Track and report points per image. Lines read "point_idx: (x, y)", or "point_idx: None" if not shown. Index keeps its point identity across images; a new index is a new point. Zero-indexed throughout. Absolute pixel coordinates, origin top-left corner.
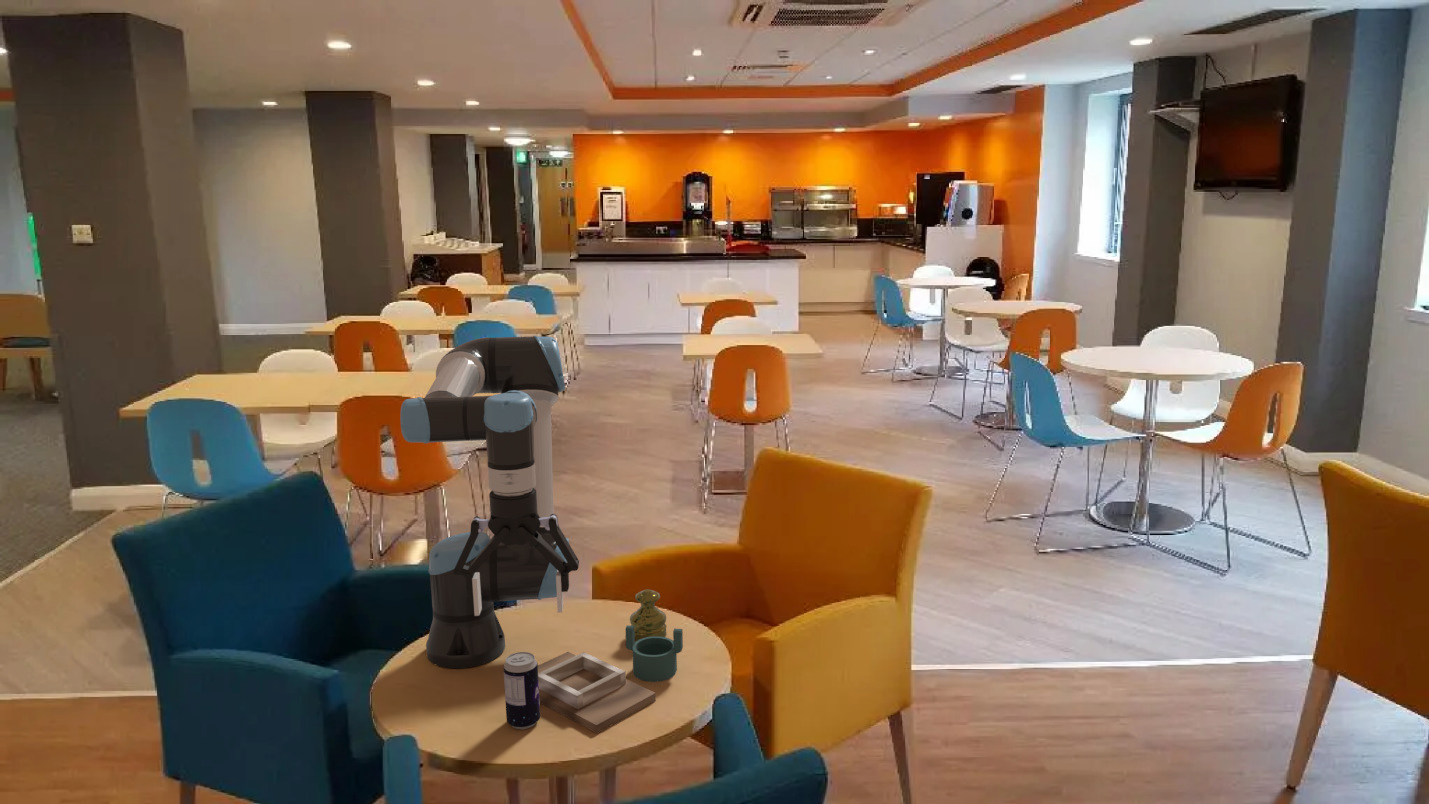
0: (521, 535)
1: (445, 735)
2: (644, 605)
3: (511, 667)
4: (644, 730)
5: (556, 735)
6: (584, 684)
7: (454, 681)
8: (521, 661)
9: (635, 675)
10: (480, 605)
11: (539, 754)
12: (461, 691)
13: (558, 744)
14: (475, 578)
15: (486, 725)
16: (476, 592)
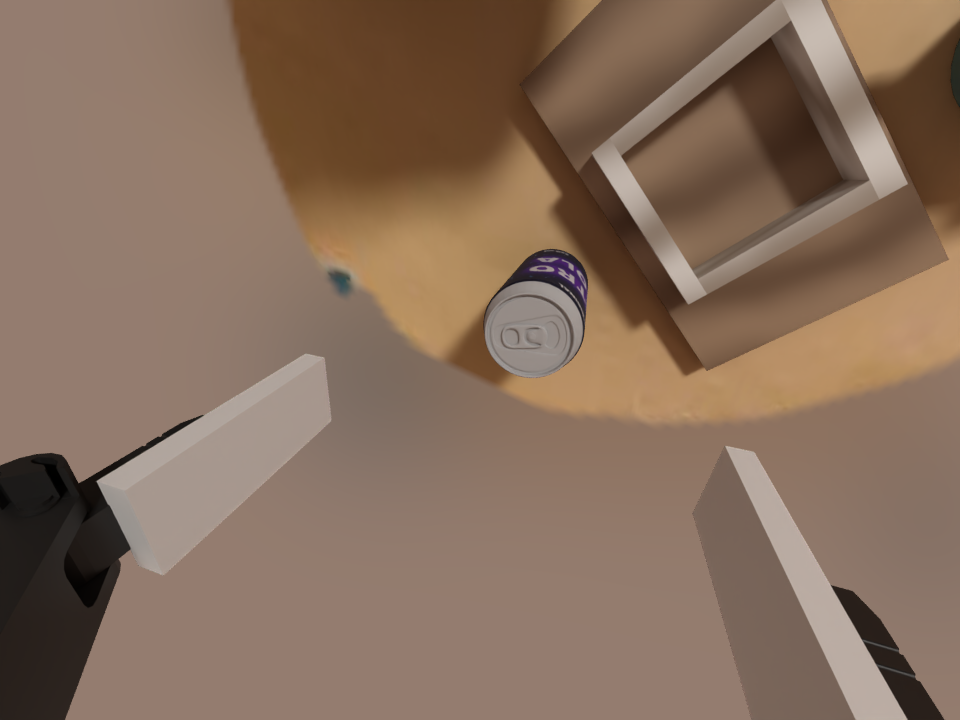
0: None
1: (406, 292)
2: None
3: (504, 364)
4: (818, 380)
5: (614, 346)
6: (737, 161)
7: (381, 33)
8: (532, 347)
9: (954, 73)
10: (308, 398)
11: (573, 395)
12: (407, 100)
13: (613, 376)
14: (153, 569)
15: (476, 274)
16: (239, 498)
